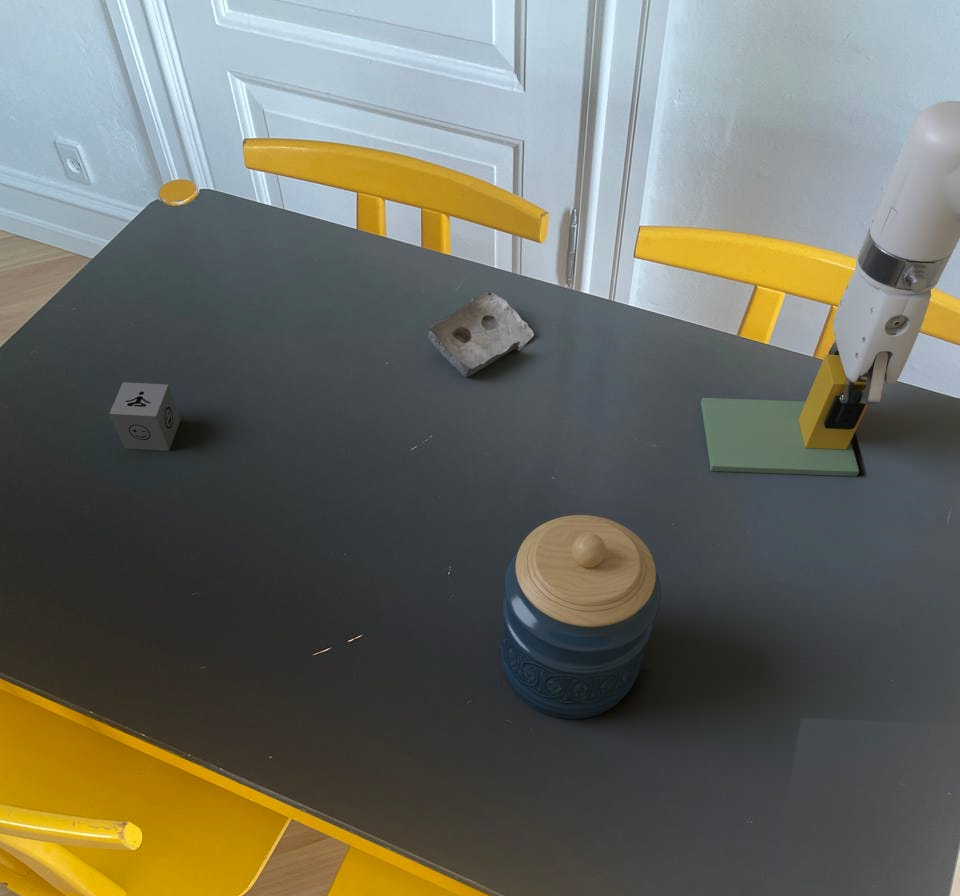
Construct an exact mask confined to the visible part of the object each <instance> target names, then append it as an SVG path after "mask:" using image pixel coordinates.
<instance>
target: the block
mask: <svg viewBox="0 0 960 896" xmlns="http://www.w3.org/2000/svg"><path fill="white" fill-rule="evenodd" d="M867 372H868V371H867ZM845 379H846V374H845V371H844V368H843V365H842V362H841V358H840V355H828V354H824V357H823V359H822V363H821V365H820V366H819V369H818V371H817V374H816V377H815V379H814V381H813V384H812V386H811V387H810V391H809V393H808V395H807V398H806V400H805V402H806V403H805V405H804V408H803V410H802V412H801V415H800V417H799V423H800V428H801V432H802V436H803V441H804V445H805V448H820V449H845V450H846V449H847V447H848V445H849V443H850V441H851V442H852V439H853V437H854V435H855V433H856V431H857V429H858V427H859V425H860V423H861V421H862V419H863V418H864V415H865V413H866V411H867V409H868V407H869V405H870V404H866V405H865V407H864V410H863V412H862V414H861V416H860V418H859V420H858V422H857V424H856V426H855V428H853V429H827V428H825V426H824V421H825V419H826V417H827V415H828V413H829V410H830V408H831V406H832V404H833V401H834V399H835V397H836V396H840V395H841V392H842V388H843V385H844V382H845ZM865 385H866V382H855V383H854V385H853V388H852V391H853V390H864V388H865Z"/></svg>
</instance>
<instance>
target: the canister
mask: <svg viewBox="0 0 960 896" xmlns="http://www.w3.org/2000/svg"><path fill="white" fill-rule="evenodd" d="M505 569H506V570H505V573H504V579H503V589H504V595H503V598H502V607H501V608H502V617H503V626H502V627H503V629H502V632H501V635H500V645H499V657H500V658H499V659H500V664H501V666H502V670H503V673H504V676H505V678H506V681H507V682H508V683H507V684H508V685H509V687H511V689H512V690H513V692H514V693H515V694H516V695H517V697H519V698H520V699H521V701H523V702H524V703H525V704H526V705H528V706H530V707H531V708H532V709H535V710H537V711H538V712H539V713H540V712H541V713H542V714H546V715H548V716H552V717H555V718H560V719H561V718H562V719H573V720H578V719H586V718H591V717H595V716H598V715H601V714H603V713H605V712H607V711H609V710H610V709H612V708H613V707H615V706H616V705H618V704H619V703H620V702H621V701H622V700H623V699H624V698H625V696H626V695H627V694H628V693H629V692H630V691H631V689H632V688H633V686H634V684H635V682H636V680H637V678H638V676H639V673H640V670H641V666H642V661H643V653H644V651H645V650H644V649H645V647H646V645H647V644H648V641H649V640H650V638H651V635H652V632H653V628H654V622H655V618H656V617H657V614H658V612H659V609H660V605H661V600H662V587H661V582H660V577H659V575H658V573H657V569H656V565H655V560H654V558H653V555H652V553H651V551H650V549H649V548H648V546H647V545H646V544H645V542H644V541H643V540H642V539H641V538H640V536H638V535H637V534H636V533H635V532H633V531H632V530H631V529H629V528H627V527H626V526H624V525H622V524H620V523H619V522H616V521H614V520H611V519H608V518H606V517H602V516H598V515H597V516H596V515H590V514H589V515H588V514H573V515H572V514H571V515H564V516H561V517H557V518H554V519H550V520H548V521H546V522H544V523H542V524H541V525H539V526H538V527H536V528H535V529H533V530H532V531H531V532H530V533H529V534H528V535H527V536H526V537H525V539H523V541H522V543H521V545H520V547H519V548H518V549H517V550H516V551H515V552H514V554H513V555H512V557H511V558H510V560H509V561H508V563H507V567H506V568H505Z"/></svg>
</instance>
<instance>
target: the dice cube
mask: <svg viewBox="0 0 960 896" xmlns="http://www.w3.org/2000/svg"><path fill="white" fill-rule="evenodd" d="M176 405H177V404H176V402H175V399H174V396H173V394H172V391H171V388H170V385H169V384H167V383H166V384H163V383H145V382H129V381H128V382H127V381H126V382H125V381H123V382H122V383H121V385H120V387H119V390H118V392H117V394H116V397H115V400H114V402H113V404H112V406H111V409H110V411H109V413H108V414H109V416H110V419H111V421H112V424H113V426H114V428H115V430H116V433H117V435H118V437H119V440H120V442H121V444H122V446H123V449H125V450H142V451H143V450H144V451H159V452H160V451H161V452H170V450H171V448H172V444H173V441H174V440H175V436H176V433H177V431H178V428H179V425H180V422H181V417H180V414H179V411H178V409H177V406H176Z"/></svg>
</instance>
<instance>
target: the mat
mask: <svg viewBox="0 0 960 896" xmlns="http://www.w3.org/2000/svg"><path fill="white" fill-rule="evenodd" d="M805 403H806V400H805V401H802V400H777V399H751V398H750V399H748V398H747V399H746V398H723V397H722V398H720V397H702V398H701V400H700V407H701V415H702V421H703V428H704V434H705V443H706V448H707V455H708V461H709V462H708V463H709V469H710V471H711V472H726V473H727V472H730V473H754V474H755V473H760V474H779V475H780V474H782V475H784V474H785V475H805V476H806V475H807V476H808V475H809V476H810V475H811V476H832V477H833V476H835V477H858V476H859V473H860V468H859V465H858V461H857V458H856V454H855V450H854V447H853V443H852V440H851V441H850V443H849V445H848V447H847V449H846V450H845V449H820V448H805V445H804V441H803V436H802V432H801V428H800V423H799V417H800V415H801V412H802V410H803V408H804V405H805Z"/></svg>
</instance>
